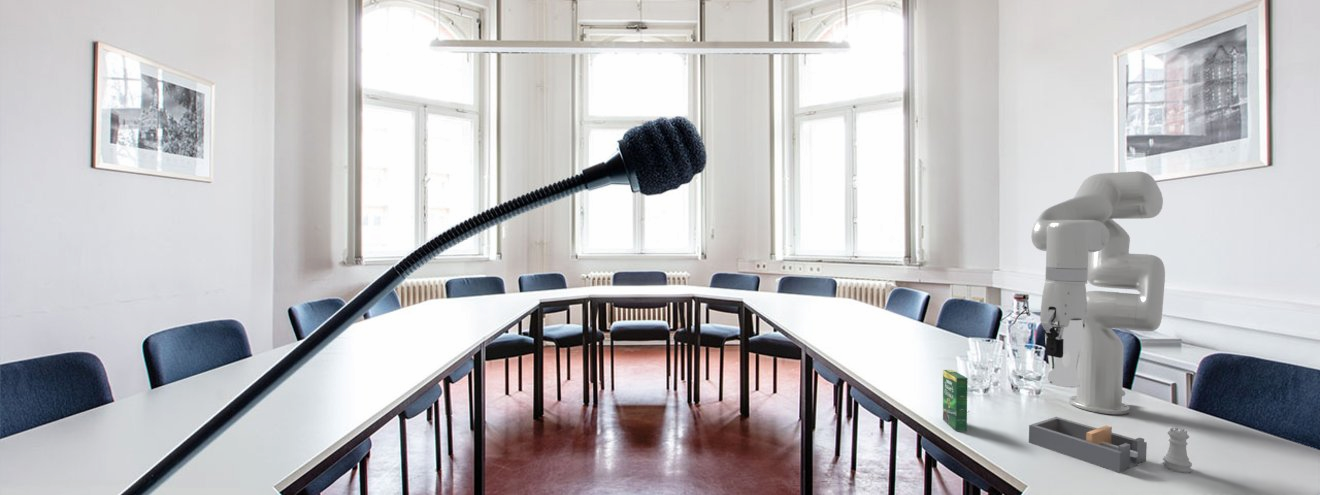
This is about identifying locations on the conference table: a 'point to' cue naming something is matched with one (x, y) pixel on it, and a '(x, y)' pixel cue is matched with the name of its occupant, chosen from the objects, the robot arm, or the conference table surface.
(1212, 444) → the conference table surface
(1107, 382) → the robot arm
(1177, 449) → the rook chess piece
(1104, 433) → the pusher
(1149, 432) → the conference table surface
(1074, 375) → the beer glass
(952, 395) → the coffee box
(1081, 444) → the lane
